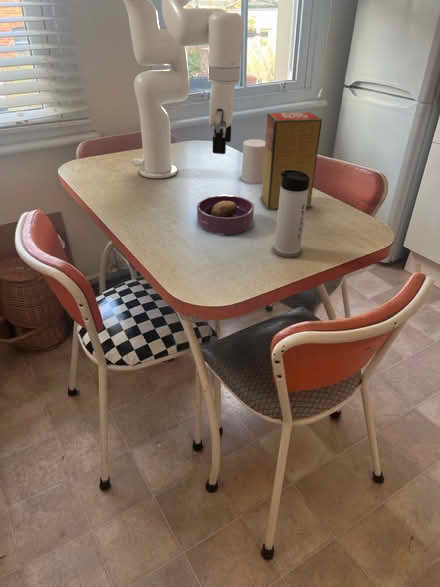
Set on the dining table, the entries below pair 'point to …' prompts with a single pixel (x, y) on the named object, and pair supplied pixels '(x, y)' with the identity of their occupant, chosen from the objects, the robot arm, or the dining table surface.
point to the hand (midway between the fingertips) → (221, 147)
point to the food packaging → (289, 151)
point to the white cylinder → (253, 161)
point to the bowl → (220, 223)
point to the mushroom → (224, 209)
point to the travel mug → (291, 212)
